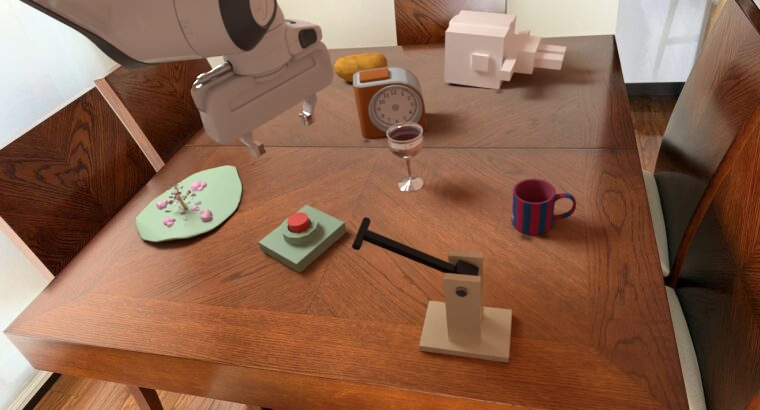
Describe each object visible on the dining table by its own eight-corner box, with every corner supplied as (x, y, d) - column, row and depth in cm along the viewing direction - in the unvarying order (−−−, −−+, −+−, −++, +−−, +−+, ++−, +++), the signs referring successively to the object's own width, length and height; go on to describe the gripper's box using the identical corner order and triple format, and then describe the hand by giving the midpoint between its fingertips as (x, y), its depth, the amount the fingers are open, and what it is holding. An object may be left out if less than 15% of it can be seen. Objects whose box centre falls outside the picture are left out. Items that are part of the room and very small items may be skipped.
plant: (172, 170, 115) (156, 137, 109) (258, 165, 112) (245, 131, 106) (118, 248, 96) (95, 212, 90) (219, 245, 93) (202, 208, 87)
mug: (514, 207, 90) (516, 176, 85) (574, 214, 86) (579, 183, 82) (508, 232, 85) (509, 201, 81) (571, 241, 82) (575, 209, 77)
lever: (349, 251, 62) (354, 239, 60) (360, 224, 66) (365, 212, 64) (468, 299, 62) (476, 289, 61) (472, 270, 66) (480, 259, 64)
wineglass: (407, 199, 96) (400, 146, 88) (387, 183, 100) (379, 132, 93) (435, 184, 98) (430, 131, 90) (414, 169, 103) (408, 118, 95)
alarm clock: (362, 140, 114) (351, 85, 105) (361, 121, 120) (352, 68, 112) (427, 131, 113) (422, 75, 104) (423, 113, 120) (418, 59, 111)
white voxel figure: (550, 111, 116) (434, 94, 125) (564, 64, 133) (461, 52, 142) (561, 50, 106) (435, 37, 115) (575, 8, 123) (464, -1, 132)
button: (299, 236, 86) (297, 228, 85) (285, 228, 88) (283, 221, 87) (314, 223, 88) (311, 216, 87) (300, 217, 90) (297, 209, 89)
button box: (299, 273, 84) (293, 256, 82) (261, 251, 90) (255, 234, 87) (346, 231, 91) (342, 214, 88) (308, 213, 96) (304, 196, 94)
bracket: (419, 350, 70) (410, 284, 61) (429, 305, 75) (422, 239, 67) (508, 363, 66) (512, 295, 58) (512, 314, 72) (515, 246, 63)
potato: (340, 75, 142) (335, 51, 138) (390, 71, 139) (387, 47, 135) (335, 87, 137) (330, 62, 132) (387, 83, 134) (384, 58, 130)
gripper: (199, 88, 57) (238, 183, 66) (330, 22, 67) (348, 112, 76) (173, 76, 61) (213, 167, 70) (300, 15, 71) (321, 102, 80)
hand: (284, 138), depth 73 cm, fingers open, 8 cm apart
